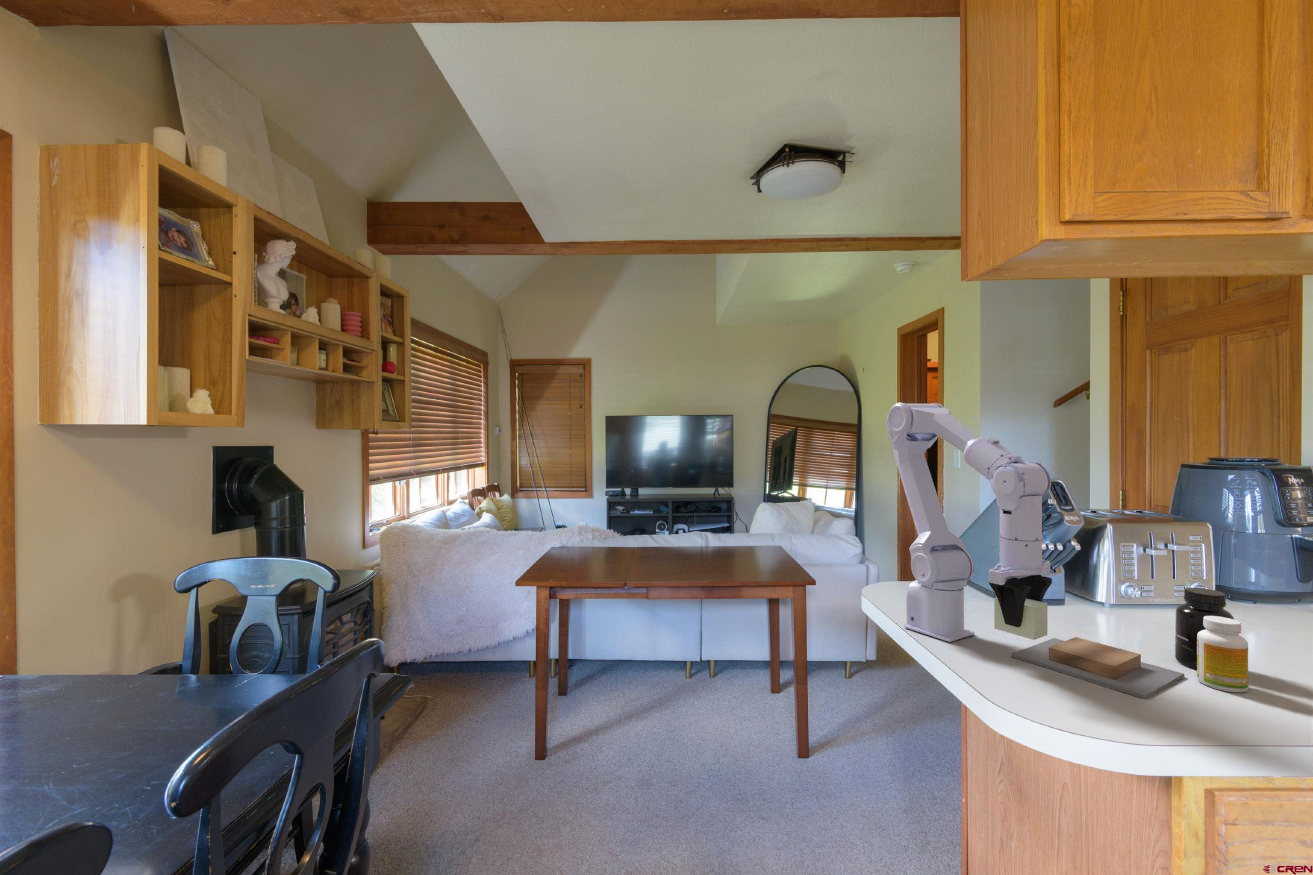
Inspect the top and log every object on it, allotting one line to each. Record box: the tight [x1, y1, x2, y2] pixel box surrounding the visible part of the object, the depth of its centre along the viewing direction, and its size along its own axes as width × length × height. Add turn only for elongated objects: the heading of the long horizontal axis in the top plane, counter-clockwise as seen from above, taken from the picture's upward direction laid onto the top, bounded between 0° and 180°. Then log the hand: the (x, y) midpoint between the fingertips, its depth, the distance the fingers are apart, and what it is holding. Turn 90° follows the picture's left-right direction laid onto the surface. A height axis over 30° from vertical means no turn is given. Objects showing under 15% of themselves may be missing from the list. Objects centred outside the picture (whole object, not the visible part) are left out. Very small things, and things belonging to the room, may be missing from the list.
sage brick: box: [993, 596, 1048, 641], centre depth 92 cm, size 6×4×5 cm, turn 31°
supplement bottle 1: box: [1174, 587, 1235, 671], centre depth 92 cm, size 7×7×12 cm
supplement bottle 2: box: [1196, 616, 1249, 693], centre depth 85 cm, size 5×5×10 cm
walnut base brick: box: [1049, 636, 1142, 680], centre depth 92 cm, size 9×9×2 cm
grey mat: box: [1011, 637, 1185, 700], centre depth 92 cm, size 18×14×1 cm
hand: (1020, 622), depth 92 cm, fingers closed on sage brick, 4 cm apart
